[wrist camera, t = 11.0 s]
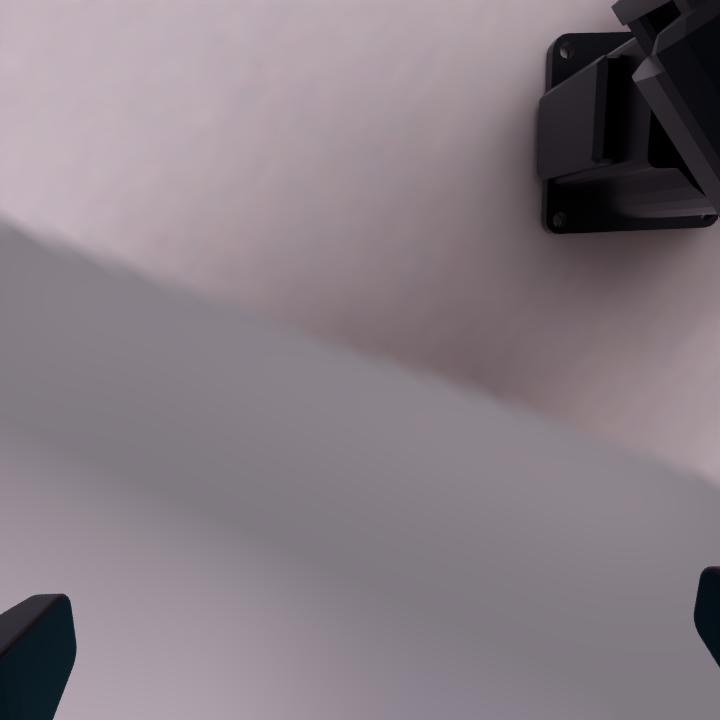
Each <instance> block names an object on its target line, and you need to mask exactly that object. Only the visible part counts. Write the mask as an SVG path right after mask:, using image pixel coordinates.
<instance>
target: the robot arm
mask: <svg viewBox="0 0 720 720" xmlns="http://www.w3.org/2000/svg"><path fill="white" fill-rule="evenodd" d="M611 8H612V9H613V11H614V13H615V14H616V16H617V17H618V19H619V21H620V22H621V24H622V26H624V25H626V24H627V25H628V27H629V28H630V30H631V32H610V33H568V34H564V35H562V36H560V37H559V38H558V39H556V40H555V41H554V42H553V43H552V44H551V46H550V48H549V51H548V60H547V88H546V94H545V95H544V96H543V97H542V98H541V99H540V103H539V132H538V161H537V174H538V175H539V176H540V178H541V179H542V180H543V196H542V226H543V228H544V229H545V231H547V232H548V233H551V234H568V233H591V232H613V231H636V230H658V229H680V228H703V227H708V226H711V225H712V224H714V223H715V221H716V220H717V219H718V216H719V218H720V0H618V1H617V2H616V3H615V4H614V5H613V6H611ZM561 46H565V47H567V49H568V50H569V57H568V58H567V59H566V58H563V57H562V56H561V54H560V47H561ZM556 213H559V214H560V216H561V218H562V221H561V224H560V225H559V226H555V225H554V224H553V217H554V215H555V214H556ZM700 215H705V216H704V218H703V219H701V218H700ZM694 622H695V626H696V629H697V631H698V633H699V635H700V637H701V639H702V640H703V642H704V643H705V645H706V647H707V648H708V650H709V651H710V653H711V655H712V656H713V658H714V659H715V661H716V663H717V664H718V666H719V667H720V566H711V567H707V568H705V569H704V570H703V571H702V573H701V575H700V580H699V586H698V591H697V597H696V603H695V609H694ZM76 648H77V647H76V637H75V630H74V623H73V616H72V608H71V603H70V600H69V598H68V596H66V595H65V594H41V595H34V596H31V597H29V598H28V599H26V600H24V601H23V602H21V603H19V604H17V605H16V606H14V607H12V608H11V609H9V610H7V611H6V612H4V613H2V614H1V615H0V720H53V718H54V715H55V712H56V710H57V707H58V705H59V702H60V699H61V697H62V694H63V692H64V689H65V686H66V684H67V681H68V678H69V676H70V673H71V671H72V668H73V665H74V662H75V658H76Z"/></svg>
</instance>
